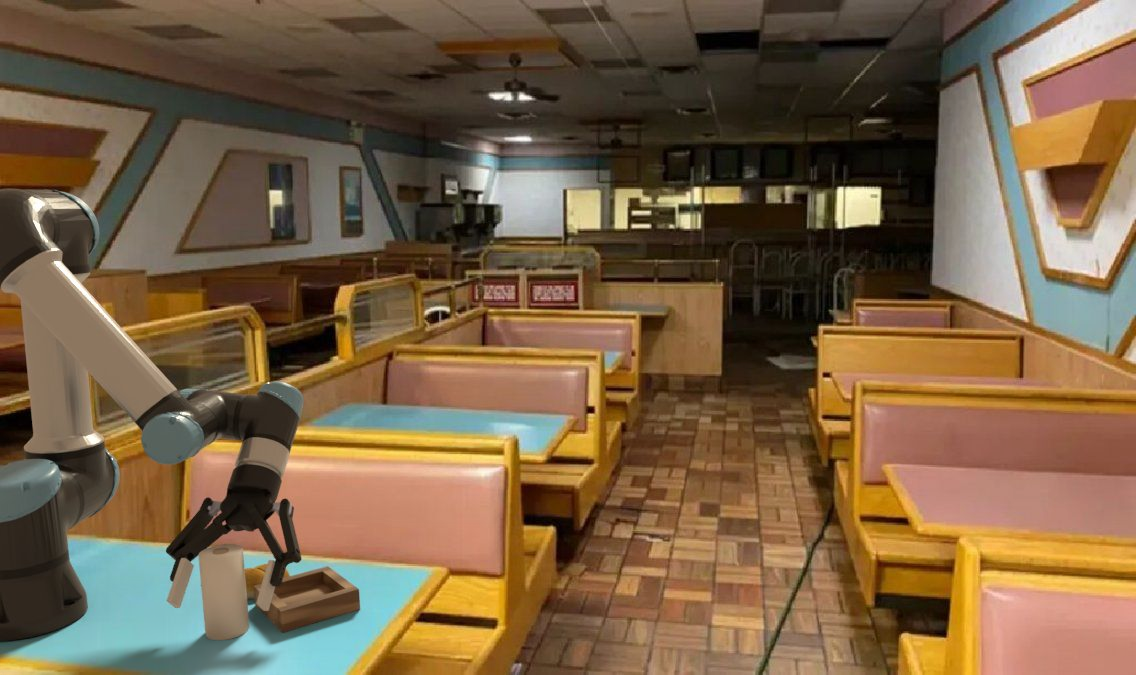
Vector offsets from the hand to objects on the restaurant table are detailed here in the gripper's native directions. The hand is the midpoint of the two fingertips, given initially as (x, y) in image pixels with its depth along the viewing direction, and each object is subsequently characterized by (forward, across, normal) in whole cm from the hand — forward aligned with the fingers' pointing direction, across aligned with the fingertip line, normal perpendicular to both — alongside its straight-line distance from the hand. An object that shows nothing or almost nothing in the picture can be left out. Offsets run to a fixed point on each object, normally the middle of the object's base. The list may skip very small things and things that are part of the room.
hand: (217, 606), depth 132 cm
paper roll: (+2, 0, -5) cm, 5 cm away
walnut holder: (-4, -8, -11) cm, 14 cm away
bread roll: (-8, +2, -16) cm, 18 cm away
